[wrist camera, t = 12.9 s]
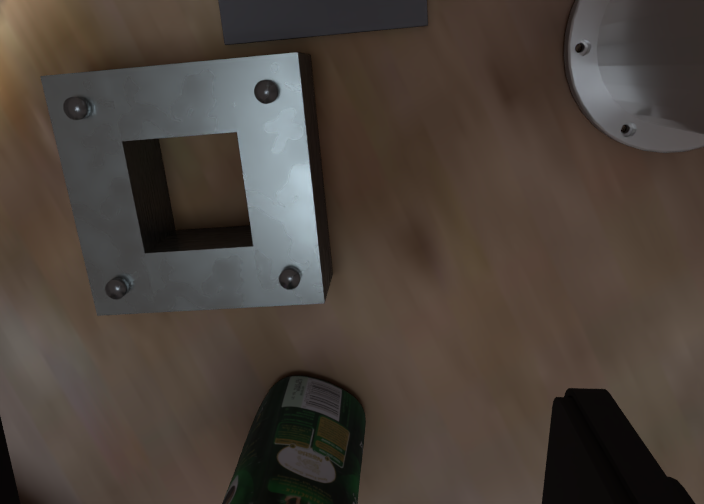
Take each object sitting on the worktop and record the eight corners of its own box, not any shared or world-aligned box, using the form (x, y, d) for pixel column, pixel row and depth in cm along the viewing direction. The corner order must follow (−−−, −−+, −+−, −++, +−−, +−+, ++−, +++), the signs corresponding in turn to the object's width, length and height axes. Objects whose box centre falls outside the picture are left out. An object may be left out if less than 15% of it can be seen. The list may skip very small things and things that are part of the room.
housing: (310, 54, 34) (295, 52, 29) (332, 274, 38) (323, 307, 33) (87, 75, 35) (33, 76, 30) (132, 285, 40) (92, 319, 34)
